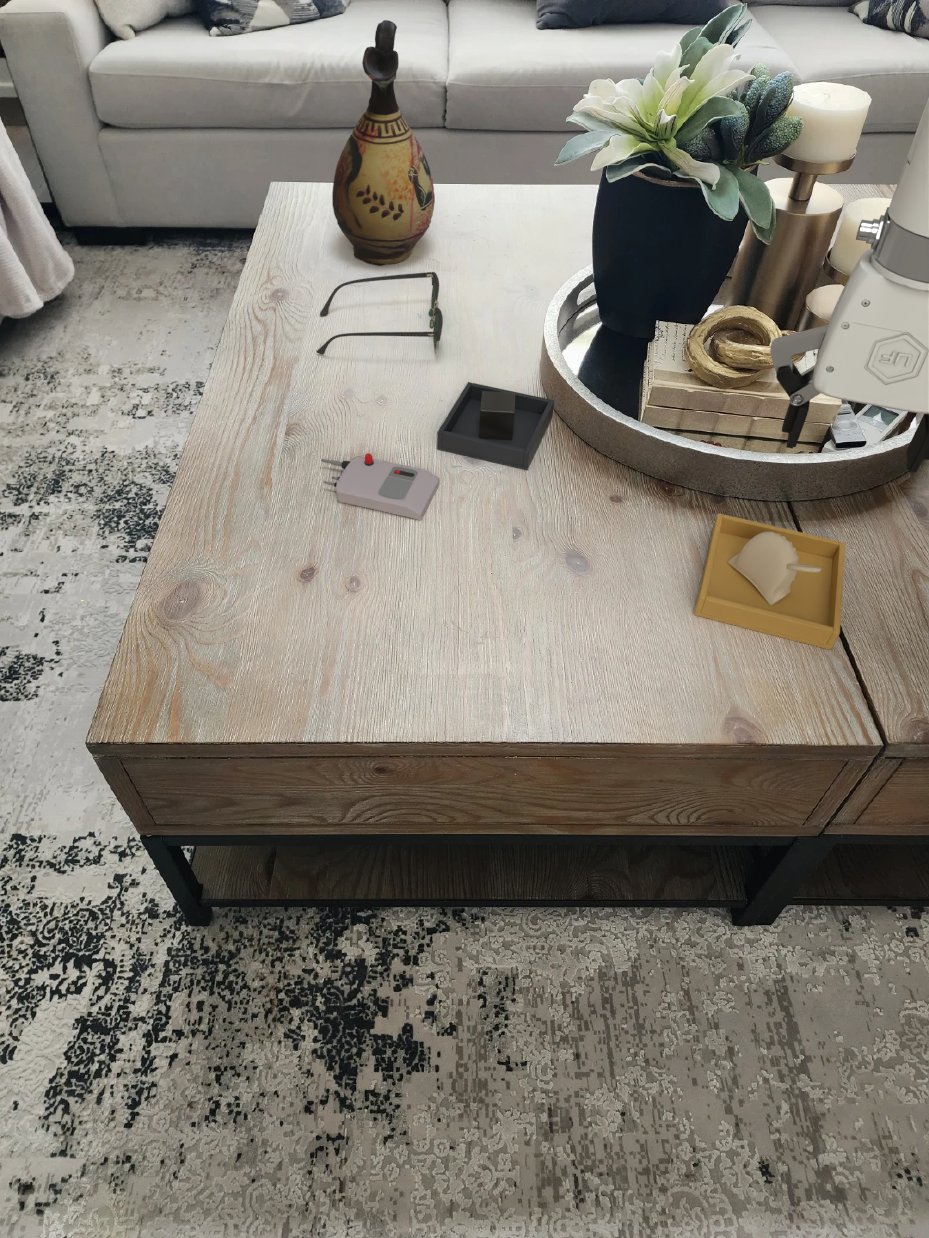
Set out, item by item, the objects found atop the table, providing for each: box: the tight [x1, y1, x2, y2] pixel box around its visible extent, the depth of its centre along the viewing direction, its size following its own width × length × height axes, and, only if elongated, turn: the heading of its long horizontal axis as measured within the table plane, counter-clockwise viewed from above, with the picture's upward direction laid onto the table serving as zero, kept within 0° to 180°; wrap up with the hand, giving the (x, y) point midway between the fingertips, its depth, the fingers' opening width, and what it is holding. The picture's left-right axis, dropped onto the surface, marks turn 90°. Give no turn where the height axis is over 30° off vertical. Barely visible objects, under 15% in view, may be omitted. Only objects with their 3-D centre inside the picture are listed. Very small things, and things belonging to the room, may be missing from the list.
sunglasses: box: [316, 271, 444, 355], centre depth 116 cm, size 16×17×5 cm
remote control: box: [320, 452, 451, 521], centre depth 94 cm, size 7×16×3 cm, turn 73°
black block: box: [479, 391, 515, 440], centre depth 101 cm, size 4×4×4 cm
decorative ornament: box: [728, 532, 821, 605], centre depth 84 cm, size 4×8×5 cm, turn 26°
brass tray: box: [693, 513, 846, 651], centre depth 86 cm, size 13×13×2 cm
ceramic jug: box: [331, 19, 436, 266], centre depth 123 cm, size 17×15×30 cm
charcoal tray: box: [436, 381, 555, 471], centre depth 102 cm, size 11×11×2 cm
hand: (850, 450), depth 71 cm, fingers open, 9 cm apart
